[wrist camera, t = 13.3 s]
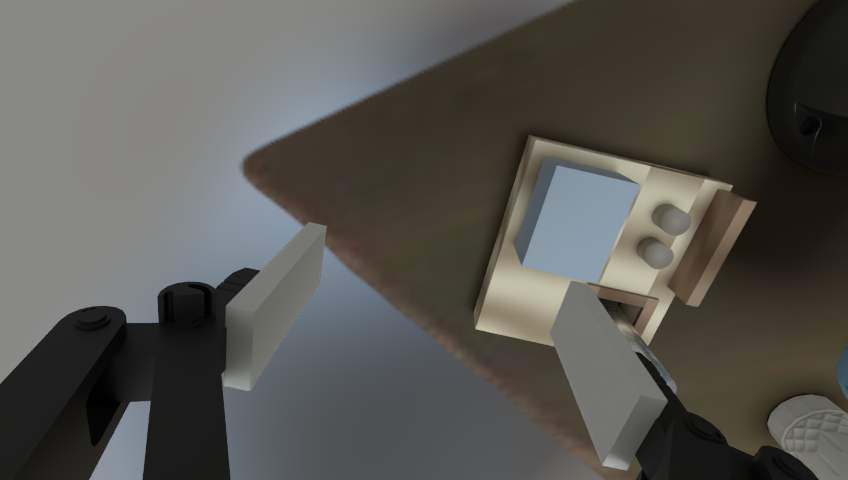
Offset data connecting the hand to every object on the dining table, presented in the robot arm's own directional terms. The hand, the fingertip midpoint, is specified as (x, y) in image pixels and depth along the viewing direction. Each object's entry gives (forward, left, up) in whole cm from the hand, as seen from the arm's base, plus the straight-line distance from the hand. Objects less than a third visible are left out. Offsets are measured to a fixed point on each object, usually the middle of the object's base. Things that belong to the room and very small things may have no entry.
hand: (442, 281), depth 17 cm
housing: (0, +10, -17) cm, 19 cm away
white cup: (+17, +43, -20) cm, 51 cm away
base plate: (+4, +14, -20) cm, 25 cm away
